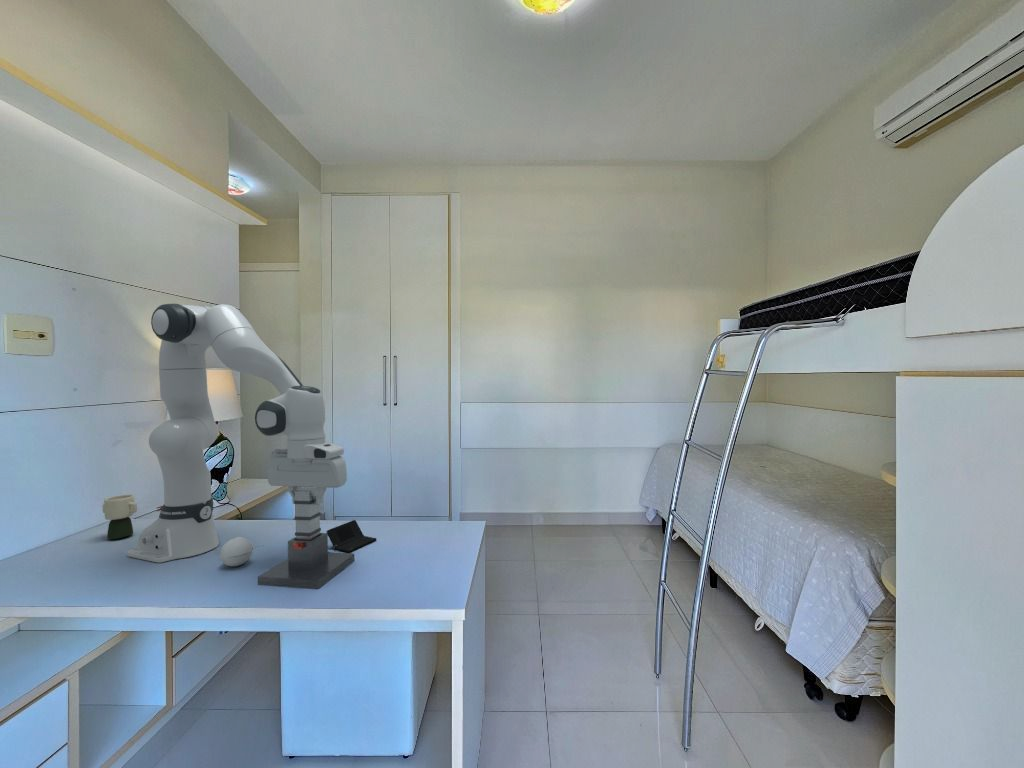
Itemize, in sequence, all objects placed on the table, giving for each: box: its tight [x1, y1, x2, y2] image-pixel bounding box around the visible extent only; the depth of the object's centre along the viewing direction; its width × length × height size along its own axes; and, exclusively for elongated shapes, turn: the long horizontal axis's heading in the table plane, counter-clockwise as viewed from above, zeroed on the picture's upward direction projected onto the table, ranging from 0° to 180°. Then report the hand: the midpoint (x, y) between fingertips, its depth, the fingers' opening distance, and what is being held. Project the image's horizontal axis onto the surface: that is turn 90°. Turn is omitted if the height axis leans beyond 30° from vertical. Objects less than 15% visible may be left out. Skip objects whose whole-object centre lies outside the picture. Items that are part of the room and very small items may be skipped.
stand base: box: [257, 532, 355, 590], centre depth 111 cm, size 16×16×9 cm
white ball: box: [219, 536, 265, 568], centre depth 116 cm, size 10×7×7 cm
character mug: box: [102, 493, 138, 540], centre depth 139 cm, size 11×7×13 cm, turn 88°
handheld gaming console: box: [325, 519, 377, 553], centre depth 129 cm, size 12×7×10 cm
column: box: [293, 487, 322, 541], centre depth 111 cm, size 4×4×16 cm
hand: (307, 503), depth 111 cm, fingers open, 4 cm apart
